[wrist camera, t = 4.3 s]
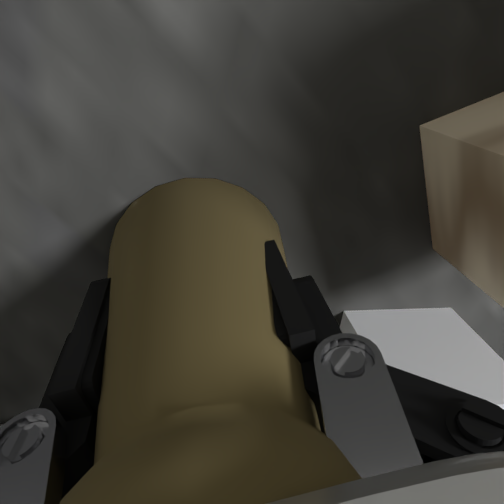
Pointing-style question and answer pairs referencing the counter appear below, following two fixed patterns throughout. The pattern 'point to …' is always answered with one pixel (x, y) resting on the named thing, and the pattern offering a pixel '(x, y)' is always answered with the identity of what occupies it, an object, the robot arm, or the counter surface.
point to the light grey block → (433, 348)
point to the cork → (201, 362)
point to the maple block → (468, 191)
